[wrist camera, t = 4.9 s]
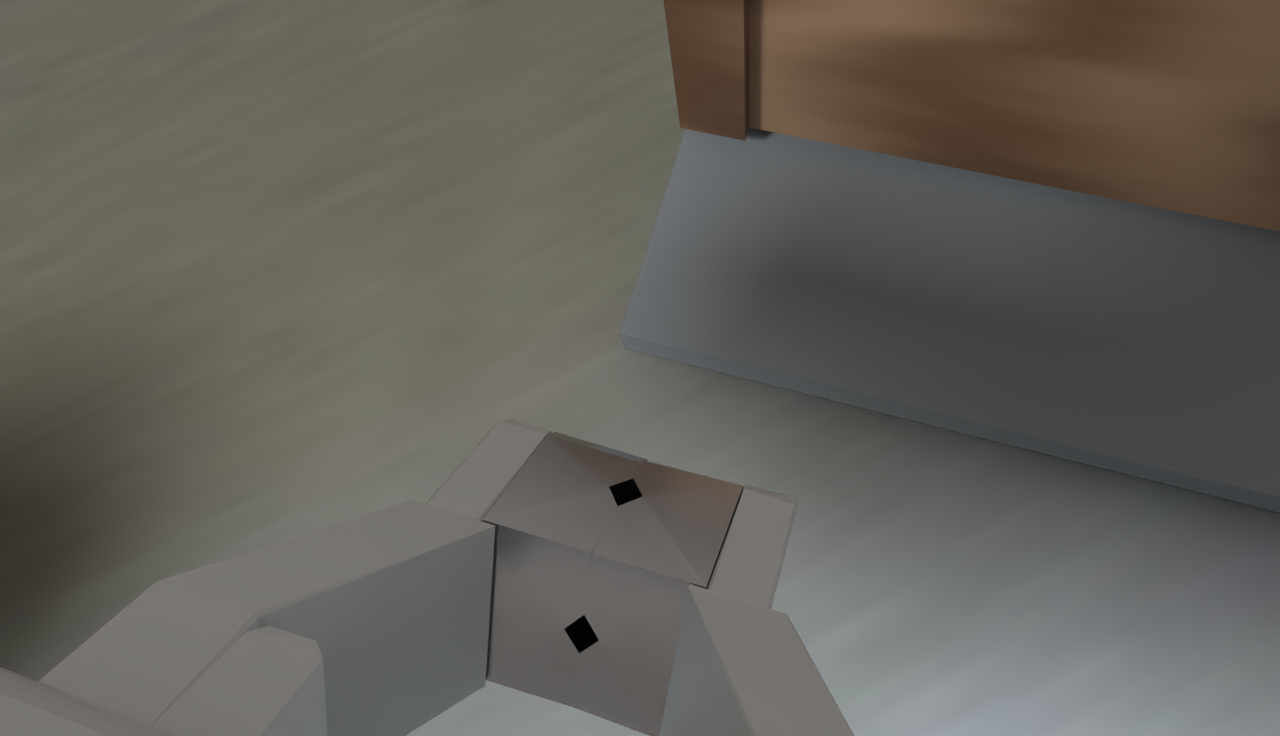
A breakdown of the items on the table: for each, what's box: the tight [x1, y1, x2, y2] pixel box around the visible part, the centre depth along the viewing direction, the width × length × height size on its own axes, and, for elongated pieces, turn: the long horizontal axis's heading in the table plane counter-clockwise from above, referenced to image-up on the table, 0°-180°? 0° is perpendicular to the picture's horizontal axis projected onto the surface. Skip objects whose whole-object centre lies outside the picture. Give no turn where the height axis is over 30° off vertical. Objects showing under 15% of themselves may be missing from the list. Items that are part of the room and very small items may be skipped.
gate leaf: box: [664, 0, 1280, 232], centre depth 15 cm, size 15×2×8 cm, turn 73°
